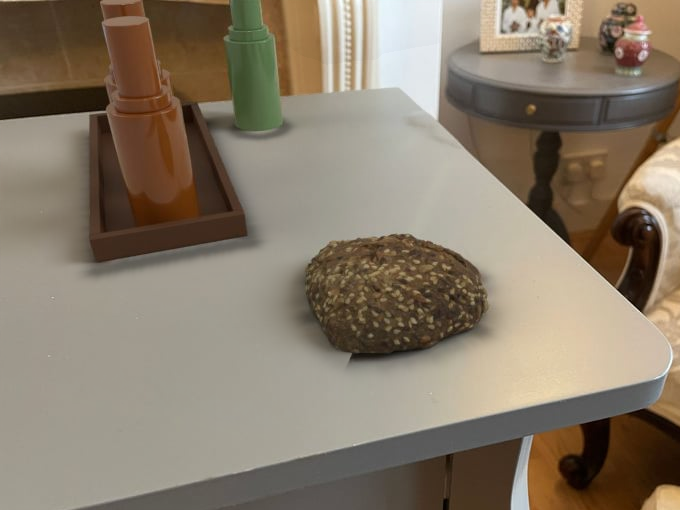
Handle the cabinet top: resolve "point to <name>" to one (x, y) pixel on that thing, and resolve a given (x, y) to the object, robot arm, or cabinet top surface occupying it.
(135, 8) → the amber bottle middle
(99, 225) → the tray
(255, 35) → the green bottle
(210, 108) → the cabinet top surface
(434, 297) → the bread roll
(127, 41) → the amber bottle near
